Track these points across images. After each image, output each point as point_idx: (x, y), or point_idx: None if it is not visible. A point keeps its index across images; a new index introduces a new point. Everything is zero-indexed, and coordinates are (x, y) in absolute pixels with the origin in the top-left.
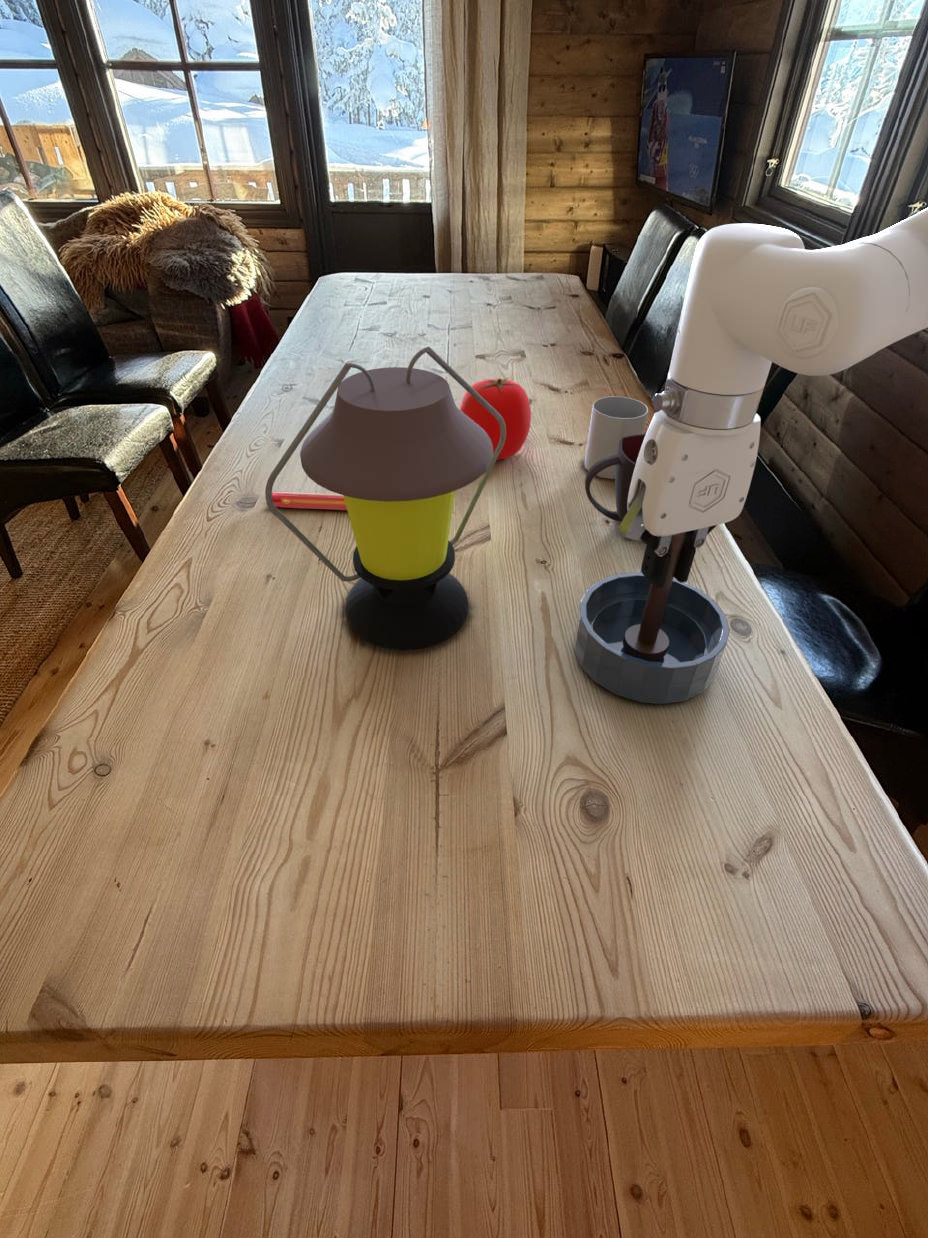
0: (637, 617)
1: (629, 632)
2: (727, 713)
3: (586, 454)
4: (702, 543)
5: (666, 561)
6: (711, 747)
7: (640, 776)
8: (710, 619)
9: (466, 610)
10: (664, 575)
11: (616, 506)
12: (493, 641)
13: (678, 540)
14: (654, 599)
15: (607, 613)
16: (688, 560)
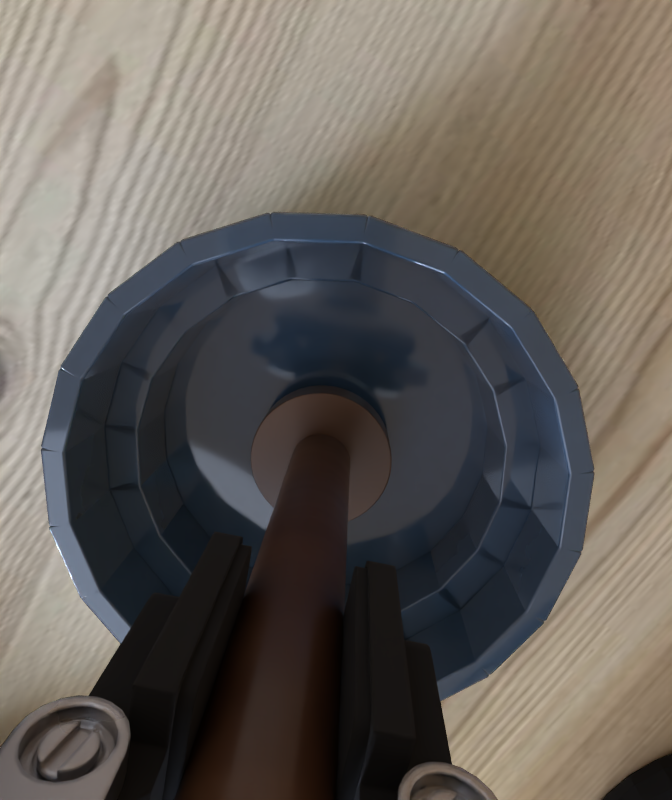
0: None
1: (350, 508)
2: (271, 135)
3: None
4: (39, 721)
5: (404, 700)
6: (413, 60)
7: (668, 91)
8: (99, 401)
9: (638, 797)
10: (381, 611)
11: None
12: (631, 676)
13: None
14: (343, 541)
15: None
16: (201, 633)
